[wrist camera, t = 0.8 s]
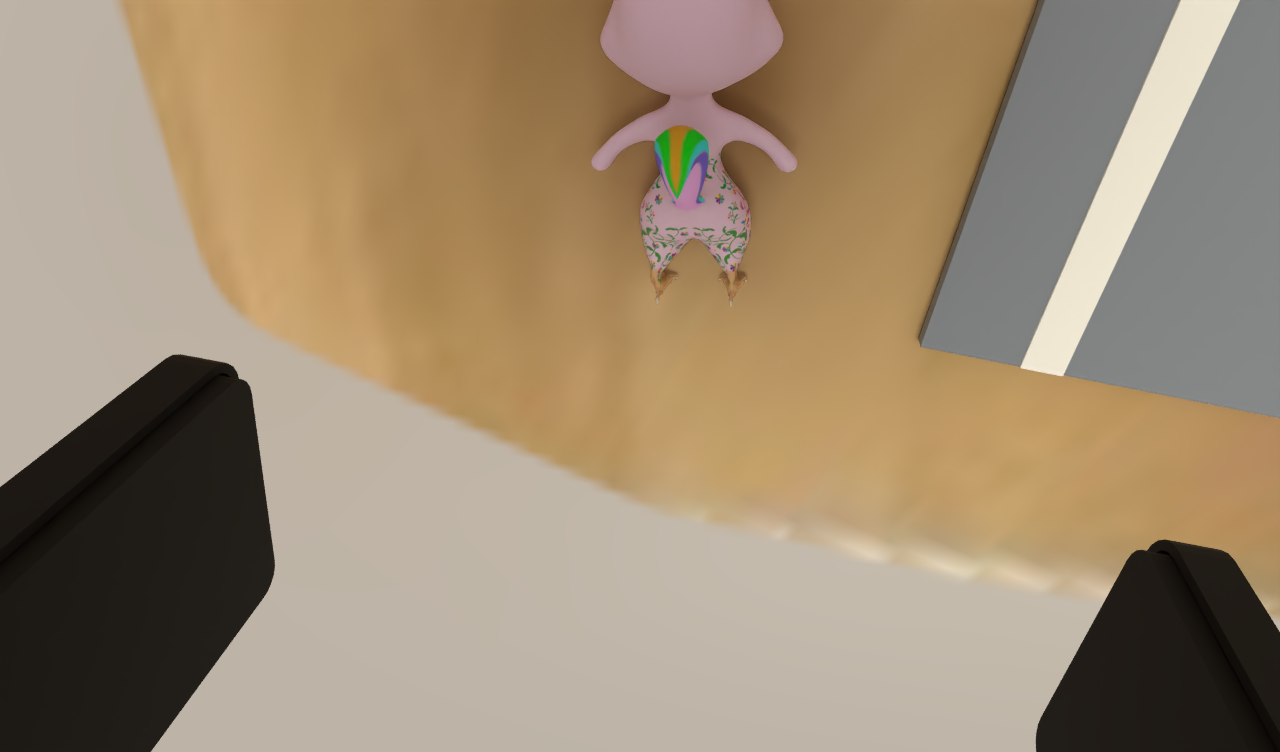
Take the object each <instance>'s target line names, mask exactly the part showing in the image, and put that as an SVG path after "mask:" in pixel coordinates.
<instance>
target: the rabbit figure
mask: <svg viewBox="0 0 1280 752" xmlns="http://www.w3.org/2000/svg"><path fill="white" fill-rule="evenodd" d="M600 42H601V46H602V49H603V51H604V53H605V54H606V55H607V57H608V58H609V59H610V60H611V61H612V62H613V63H614V64H615V65H617V66H618V67H619V68H620V69H621V70H623V71H624V72H625V73H627V74H628V75H629V76H631V77H632V78H634V79H635V80H637V81H639V82H640V83H642V84H644V85H645V86H647V87H649V88H651V89H653V90H655V91H658V92H661V93H664V94H668V95H670V99H669V102H668V103H667V104H666V105H664V106H663V107H661V108H659V109H657V110H655V111H652V112H650V113H647V114H645V115H643V116H641V117H639V118H638V119H636V120H635V121H633V122H631V123H630V124H628V125H627V126H625V127H623V128H622V129H620V130H619V131H618V132H617V133H615V134H614V135H613V136H612V137H611V138H610V139H609V140H608V141H607V142H606V143H605V144H604V145H603V146H602V147H601V148H600V149H599V150H598V151H597V152H596V153H595V155H594V156H593V158H592V162H591V164H592V166H593V168H594V169H596V170H598V171H603V170H605V169H607V168H608V167H609V166H610V165H611V164H612V162H613V161H614V159H615V157H616V156H617V155H618V154H619V153H620V152H621V151H622V150H623V149H625V148H627V147H628V146H630V145H632V144H635V143H638V142H641V141H654V142H655V157H656V162H657V165H658V169H659V171H660V175H659V176H658V177H657V179H656V180H655V181H654V183H653V184H652V186H651V187H650V189H649V190H648V192H647V194H646V195H645V197H644V199H643V201H642V204H641V207H640V214H639V218H640V226H641V233H642V238H643V242H644V246H645V249H646V252H647V256H648V259H649V261H650V264H651V267H652V268H651V281H652V283H653V284H654V287H655V289H656V293H657V296H656V303H657V305H658V301H659V296H660V295H661V294H663V291H664V289H665V288H666V286H667V285H668V284H669V283H670V282H671V280H672V279H677V280H678V278H677V276H666V274H665V273H664V269H665V268H666V266H667V265H668V264H669V263H670V261H671V260H672V259H673V258H674V257H675V256H676V255H677V254H678V253H679V252H680V251H681V250H682V248H683V247H684V246H685V245H686V244H687V242H688V241H689V240H691V239H693V238H695V239H698V240H700V241H701V242H703V244H704V245H705V246H706V248H707V249H708V250H709V252H710V253H711V254H712V255H713V257H714V258H715V259H716V260H717V262H718V263H719V264H720V266H721V267H722V268H723V270H724V271H725V272H726V274H727V277H725V278H724V277H720V278H719V281H720V280H723V283H724V284H725V285H726V287H727V290H728V294H729V296H730V299H729V302H730V307H731V305H732V302H733V297H734V296H735V295H736V292H737V290H738V289H739V288H740V287H741V286H742V285H743V284H744V280H745V282H746V280H747V279H746V277H745V276H744V277H743V278H742V279H741V278H739V279H738V276H737V274H738V273H737V268H738V266H739V264H740V262H741V259H742V256H743V254H744V251H745V249H746V246H747V244H748V241H749V237H750V232H751V214H750V209H749V206H748V204H747V202H746V199H745V198H744V196H743V194H742V193H741V191H740V190H739V189H738V187H737V186H736V185H735V183H734V182H733V181H732V179H731V178H730V177H729V175H728V174H727V172H726V171H725V169H724V167H723V164H722V161H721V150H722V148H723V147H724V146H725V145H726V144H727V143H729V142H732V141H743V142H747V143H750V144H752V145H755V146H757V147H758V148H760V149H762V150H763V151H765V152H766V153H767V154H768V155H769V156H770V157H771V159H772V160H773V161H774V163H775V164H776V166H777V167H778V168H779V169H780V170H782V171H784V172H791V171H793V170H795V169H796V167H797V160H796V158H795V156H794V155H793V154H792V153H791V152H790V151H789V150H788V149H787V148H786V147H785V146H784V145H783V144H782V143H781V142H780V141H779V140H778V139H777V138H776V137H775V136H773V135H772V134H771V133H770V132H768V131H767V130H766V129H764V128H763V127H761V126H759V125H758V124H756V123H754V122H753V121H751V120H749V119H748V118H746V117H744V116H742V115H740V114H738V113H735V112H733V111H730V110H728V109H726V108H724V107H722V106H720V105H719V104H717V103H716V102H715V101H714V99H713V97H712V93H713V92H716V91H719V90H721V89H724V88H726V87H728V86H730V85H732V84H734V83H736V82H738V81H740V80H742V79H744V78H746V77H747V76H749V75H751V74H753V73H754V72H756V71H757V70H759V69H760V68H761V67H762V66H764V65H765V64H766V63H767V62H768V61H769V60H770V59H772V57H773V56H774V55H775V54H776V53H777V52H778V51H779V49H780V48H781V46H782V43H783V31H782V29H781V26H780V24H779V22H778V20H777V18H776V16H775V15H774V12H773V10H772V8H771V6H770V4H769V1H768V0H614V1H613V4H612V7H611V10H610V12H609V15H608V18H607V20H606V23H605V25H604V28H603V30H602V33H601V37H600Z"/></svg>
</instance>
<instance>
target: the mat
mask: <svg viewBox="0 0 1280 752" xmlns="http://www.w3.org/2000/svg"><path fill="white" fill-rule="evenodd" d="M919 342H920V347H924V348H929V349H934V350H939V351H944V352H949V353H954V354H959V355H964V356H969V357H974V358H979V359H984V360H989V361H994V362H999V363H1004V364H1010V365H1015V366H1020V368H1023V369H1028V370H1033V371H1038V372H1043V373H1048V374H1053V375H1058V376H1063V375H1065V376H1070V377H1075V378H1080V379H1085V380H1090V381H1095V382H1100V383H1105V384H1111V385H1116V386H1121V387H1126V388H1131V389H1136V390H1141V391H1146V392H1151V393H1156V394H1161V395H1166V396H1171V397H1176V398H1181V399H1186V400H1191V401H1196V402H1201V403H1206V404H1212V405H1217V406H1222V407H1227V408H1232V409H1237V410H1242V411H1247V412H1252V413H1257V414H1262V415H1267V416H1272V417H1277V418H1280V0H1039V1H1038V4H1037V7H1036V10H1035V12H1034V15H1033V18H1032V21H1031V24H1030V27H1029V29H1028V32H1027V35H1026V38H1025V41H1024V43H1023V46H1022V49H1021V52H1020V55H1019V57H1018V60H1017V63H1016V66H1015V69H1014V72H1013V74H1012V77H1011V80H1010V83H1009V86H1008V88H1007V91H1006V94H1005V97H1004V100H1003V102H1002V105H1001V108H1000V111H999V114H998V117H997V119H996V122H995V125H994V128H993V131H992V133H991V136H990V139H989V142H988V145H987V148H986V150H985V153H984V156H983V159H982V162H981V164H980V167H979V170H978V173H977V176H976V178H975V181H974V184H973V187H972V190H971V193H970V195H969V198H968V201H967V204H966V207H965V209H964V212H963V215H962V218H961V221H960V223H959V226H958V229H957V232H956V235H955V238H954V240H953V243H952V246H951V249H950V252H949V254H948V257H947V260H946V263H945V266H944V268H943V271H942V274H941V277H940V280H939V283H938V285H937V288H936V291H935V294H934V297H933V299H932V302H931V305H930V308H929V311H928V313H927V316H926V319H925V322H924V325H923V328H922V330H921V333H920V336H919Z"/></svg>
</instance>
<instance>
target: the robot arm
mask: <svg viewBox="0 0 1280 752" xmlns="http://www.w3.org/2000/svg"><path fill="white" fill-rule="evenodd" d="M274 561H275V560H274V553H273V545H272V539H271V531H270V524H269V516H268V509H267V502H266V495H265V487H264V480H263V473H262V465H261V458H260V451H259V443H258V436H257V429H256V421H255V414H254V408H253V399H252V393H251V389H250V386H249V385H248V383H247V382H246V381H244V380H241V379H239V378H238V374H237V372H236V370H235V369H234V367H233V366H231V365H229V364H227V363H223V362H218V361H213V360H207V359H202V358H197V357H191V356H186V355H172V356H170V357H168V358H166V359H165V360H163V361H162V362H161V363H160V364H158V365H157V366H156V367H154V368H153V369H152V370H150V371H149V372H148V373H147V374H145V375H144V376H143V377H141V378H140V379H139V380H138V381H136V382H135V383H134V384H132V385H131V386H130V387H129V388H127V389H126V390H125V391H123V392H122V393H121V394H120V395H118V396H117V397H116V398H115V399H113V400H112V401H111V402H109V403H108V404H107V405H105V406H104V407H103V408H102V409H100V410H99V411H98V412H96V413H95V414H94V415H93V416H92V417H90V418H89V419H87V420H86V421H85V422H84V423H82V424H81V425H80V426H78V427H77V428H76V429H74V430H73V431H72V432H71V433H69V434H68V435H67V436H65V437H64V438H63V439H62V440H60V441H59V442H58V443H57V444H55V445H54V446H53V447H51V448H50V449H49V450H48V451H46V452H45V453H44V454H42V455H41V456H40V457H39V458H37V459H36V460H35V461H33V462H32V463H31V464H30V465H28V466H27V467H26V468H24V469H23V470H22V471H20V472H19V473H18V474H17V475H15V476H14V477H13V478H11V479H10V480H9V481H8V482H7V483H5V484H4V485H2V486H1V487H0V752H151V751H152V749H153V748H154V747H155V745H156V744H157V742H158V741H159V740H160V738H161V737H162V736H163V734H164V733H165V732H166V730H167V729H168V727H169V726H170V725H171V723H172V722H173V721H174V719H175V718H176V717H177V715H178V714H179V712H180V711H181V710H182V708H183V707H184V706H185V704H186V703H187V702H188V700H189V699H190V697H191V696H192V695H193V693H194V692H195V690H196V689H197V688H198V686H199V685H200V684H201V682H202V681H203V679H204V678H205V677H206V675H207V674H208V673H209V671H210V670H211V669H212V667H213V666H214V665H215V663H216V662H217V661H218V659H219V658H220V656H221V655H222V654H223V652H224V651H225V649H226V648H227V647H228V646H229V644H230V642H231V641H232V640H233V639H234V637H235V636H236V635H237V633H238V632H239V631H240V629H241V628H242V626H243V625H244V624H245V622H246V621H247V620H248V618H249V617H250V615H251V614H252V613H253V611H254V610H255V609H256V607H257V606H258V605H259V603H260V602H261V601H262V599H263V598H264V596H265V595H266V593H267V591H268V589H269V587H270V585H271V582H272V578H273V575H274V568H275V562H274ZM1036 752H1280V632H1279V630H1278V629H1277V627H1276V625H1275V624H1274V622H1273V621H1272V619H1271V617H1270V616H1269V614H1268V613H1267V611H1266V609H1265V608H1264V606H1263V605H1262V603H1261V601H1260V600H1259V598H1258V597H1257V595H1256V594H1255V592H1254V590H1253V589H1252V587H1251V586H1250V584H1249V582H1248V581H1247V579H1246V578H1245V576H1244V574H1243V573H1242V571H1241V570H1240V568H1239V566H1238V565H1237V563H1236V562H1235V560H1234V559H1233V558H1232V557H1231V556H1230V555H1229V554H1228V553H1226V552H1224V551H1222V550H1218V549H1213V548H1207V547H1202V546H1197V545H1191V544H1186V543H1181V542H1175V541H1170V540H1158V541H1157V542H1155V543H1154V544H1152V545H1151V546H1150V548H1149V549H1148V550H1147V551H1145V550H1137V551H1135V552H1134V553H1132V554H1131V556H1130V557H1129V558H1128V560H1127V561H1126V563H1125V565H1124V567H1123V569H1122V570H1121V572H1120V574H1119V576H1118V578H1117V580H1116V581H1115V583H1114V585H1113V587H1112V589H1111V591H1110V592H1109V594H1108V596H1107V598H1106V600H1105V602H1104V603H1103V605H1102V607H1101V609H1100V611H1099V613H1098V614H1097V616H1096V618H1095V620H1094V622H1093V624H1092V625H1091V627H1090V629H1089V631H1088V633H1087V634H1086V636H1085V638H1084V640H1083V642H1082V644H1081V645H1080V647H1079V649H1078V651H1077V653H1076V655H1075V656H1074V658H1073V660H1072V662H1071V664H1070V665H1069V667H1068V669H1067V671H1066V673H1065V675H1064V676H1063V678H1062V680H1061V682H1060V684H1059V686H1058V687H1057V689H1056V691H1055V693H1054V695H1053V697H1052V698H1051V700H1050V702H1049V704H1048V706H1047V708H1046V709H1045V711H1044V713H1043V715H1042V717H1041V719H1040V721H1039V724H1038V728H1037V733H1036Z"/></svg>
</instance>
